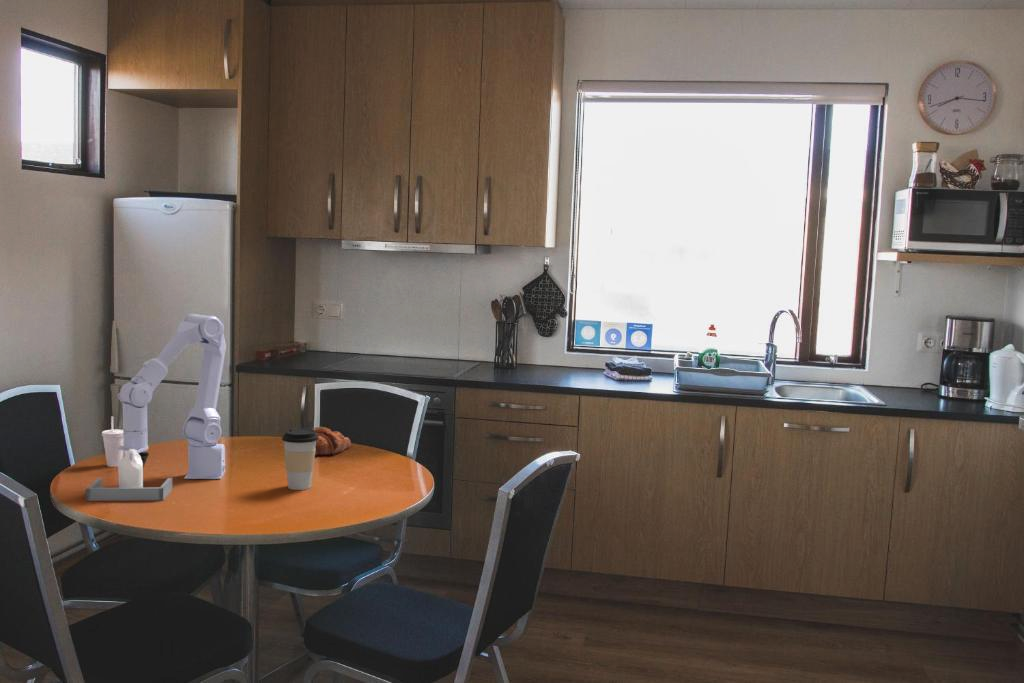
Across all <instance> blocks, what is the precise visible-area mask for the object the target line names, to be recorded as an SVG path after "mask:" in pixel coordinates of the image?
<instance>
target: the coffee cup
mask: <svg viewBox="0 0 1024 683" xmlns="http://www.w3.org/2000/svg"><path fill="white" fill-rule="evenodd" d="M312 429H313V428H312ZM312 429H311V428H302V427H301V428H300V427H299V428H289V429H287V430H285V431H284V434H283V435H282V437H281V441H283V445H284V447H283V448H284V449H283V452H284V453H283V454H284V464H285V471H286V476H287V477H286V478H287V488H288V489H289V490H293V491H304V490H309V489H310V488H311V487H312V479H313V471H314V467H315V466H314V465H315V457H316V456H315V450H316V448H315V445H316V441H317V440H318V439H319V438H318V435H317V434H316V431H315V430H312Z"/></svg>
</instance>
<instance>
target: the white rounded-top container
mask: <svg viewBox="0 0 1024 683" xmlns="http://www.w3.org/2000/svg"><path fill="white" fill-rule="evenodd" d="M130 453H133V460H132V461H131V460H130V459H129V457H130ZM117 470H118V471H117V472H118V473H117V474H118V488H130V487H144V475H143V474H144V468H143V462H142V459H141V456H140V455H139V454H138V453H137V451H136V450H135V449H129V450H128V451H126V452H125V457H124V454H123V457H122V458H121V460H120V461H119V462H118V467H117Z"/></svg>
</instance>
